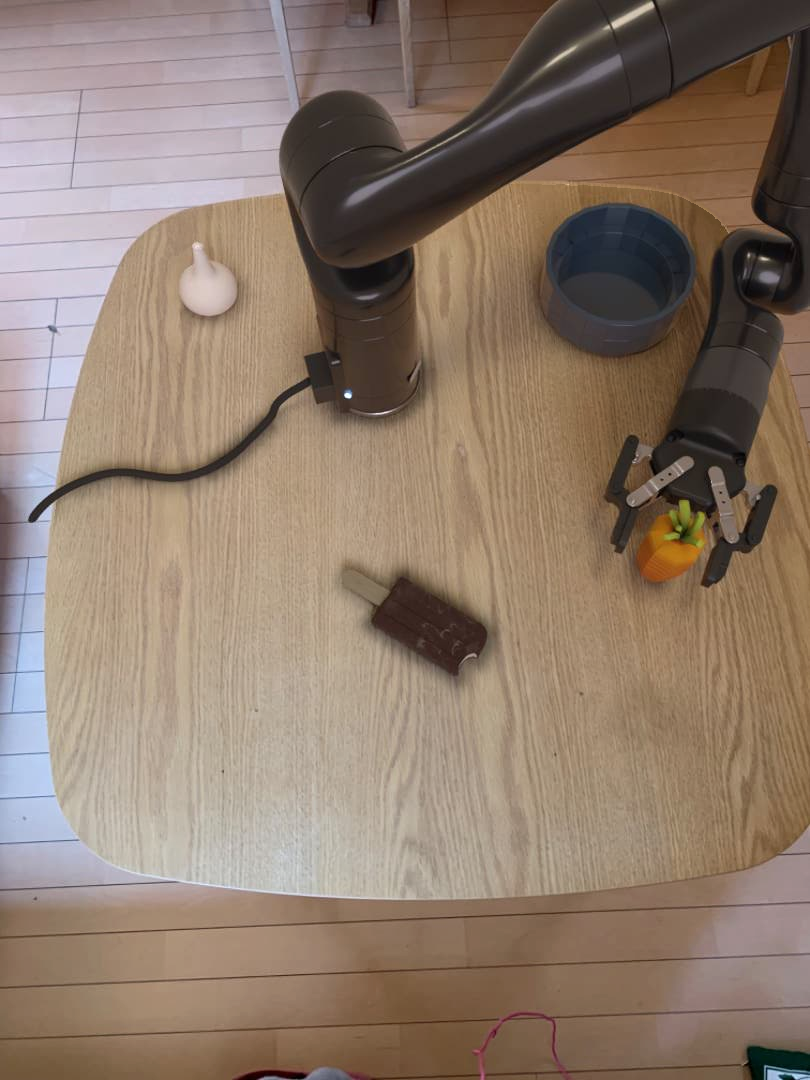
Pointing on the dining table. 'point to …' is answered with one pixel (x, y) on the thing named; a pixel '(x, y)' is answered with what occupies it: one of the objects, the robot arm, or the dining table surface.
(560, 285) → the bowl
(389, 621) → the ice cream bar
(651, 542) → the carrot
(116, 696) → the dining table surface
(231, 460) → the robot arm
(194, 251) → the garlic bulb
